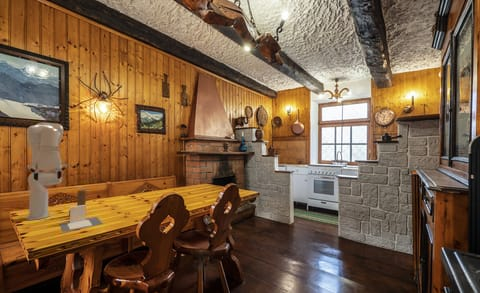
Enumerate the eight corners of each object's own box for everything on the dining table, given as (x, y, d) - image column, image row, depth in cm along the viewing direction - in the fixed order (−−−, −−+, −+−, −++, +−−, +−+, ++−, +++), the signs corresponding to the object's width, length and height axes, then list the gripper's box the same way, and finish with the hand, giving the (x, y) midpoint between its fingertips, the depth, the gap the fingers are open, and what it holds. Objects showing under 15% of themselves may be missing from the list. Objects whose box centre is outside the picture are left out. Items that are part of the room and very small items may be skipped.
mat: (59, 224, 134) (59, 223, 134) (96, 217, 148) (96, 216, 148) (62, 233, 120) (62, 231, 120) (103, 224, 134) (103, 223, 134)
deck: (69, 222, 136) (70, 206, 136) (84, 219, 142) (85, 204, 142) (70, 223, 134) (70, 207, 135) (85, 220, 140) (85, 205, 140)
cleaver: (69, 217, 147) (70, 191, 148) (69, 216, 151) (69, 190, 151) (85, 215, 153) (86, 190, 154) (84, 213, 157) (85, 189, 157)
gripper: (65, 149, 130) (64, 177, 129) (26, 149, 115) (25, 180, 115) (70, 149, 125) (69, 178, 125) (29, 149, 111) (28, 181, 111)
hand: (48, 179), depth 120 cm, fingers open, 9 cm apart
